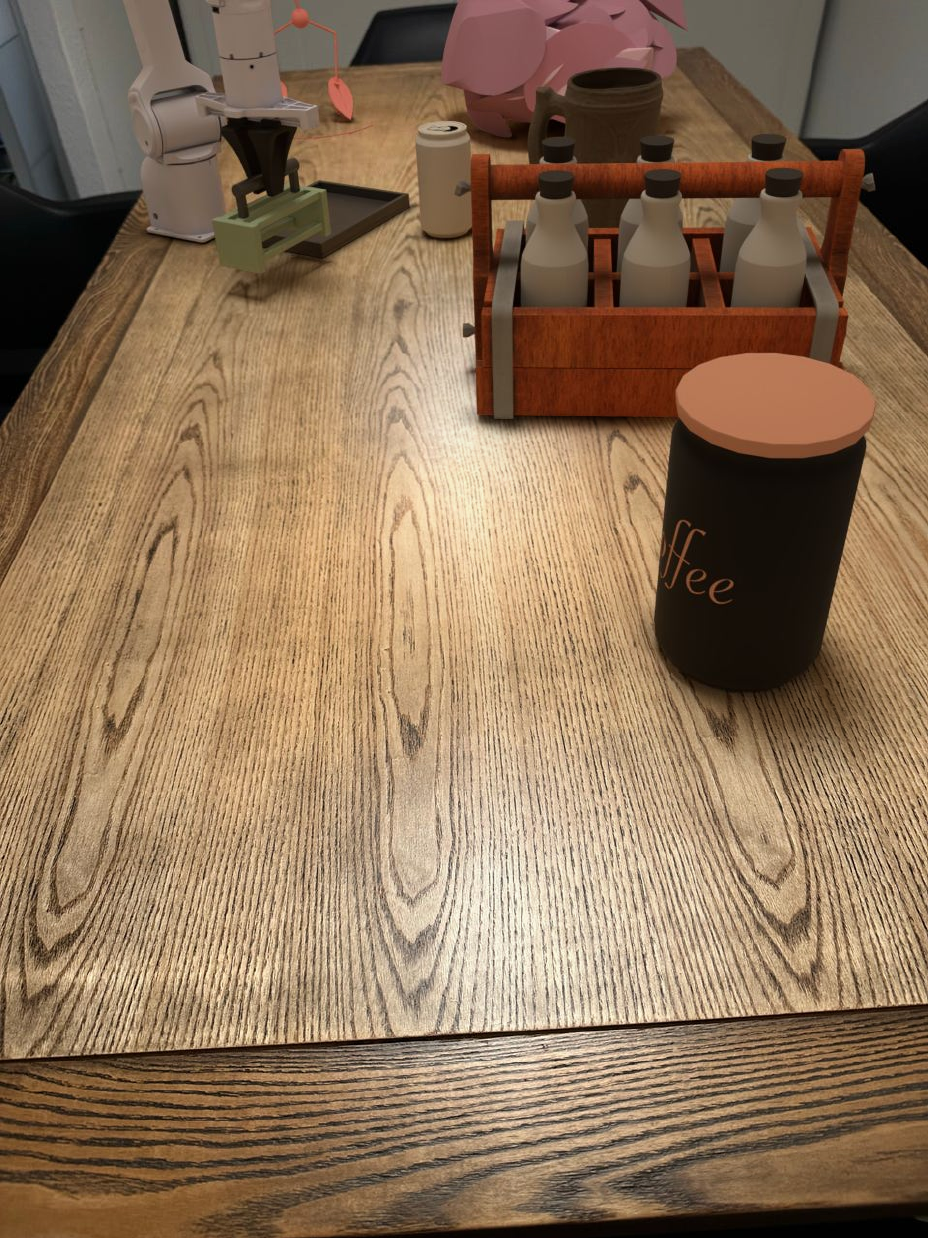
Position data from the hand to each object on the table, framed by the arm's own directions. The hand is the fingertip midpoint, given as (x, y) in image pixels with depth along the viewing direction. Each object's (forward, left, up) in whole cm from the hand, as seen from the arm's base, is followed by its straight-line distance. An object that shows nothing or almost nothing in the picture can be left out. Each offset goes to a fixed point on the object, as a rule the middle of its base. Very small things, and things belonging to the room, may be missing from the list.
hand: (268, 192), depth 116 cm
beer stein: (+30, +17, -10) cm, 36 cm away
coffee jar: (+66, -38, -10) cm, 77 cm away
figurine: (-33, +51, -10) cm, 62 cm away
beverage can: (+10, +20, -10) cm, 25 cm away
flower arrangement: (+4, +65, -10) cm, 66 cm away
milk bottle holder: (+46, -4, -10) cm, 47 cm away
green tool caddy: (0, 0, -6) cm, 6 cm away
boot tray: (-6, +16, -9) cm, 20 cm away
